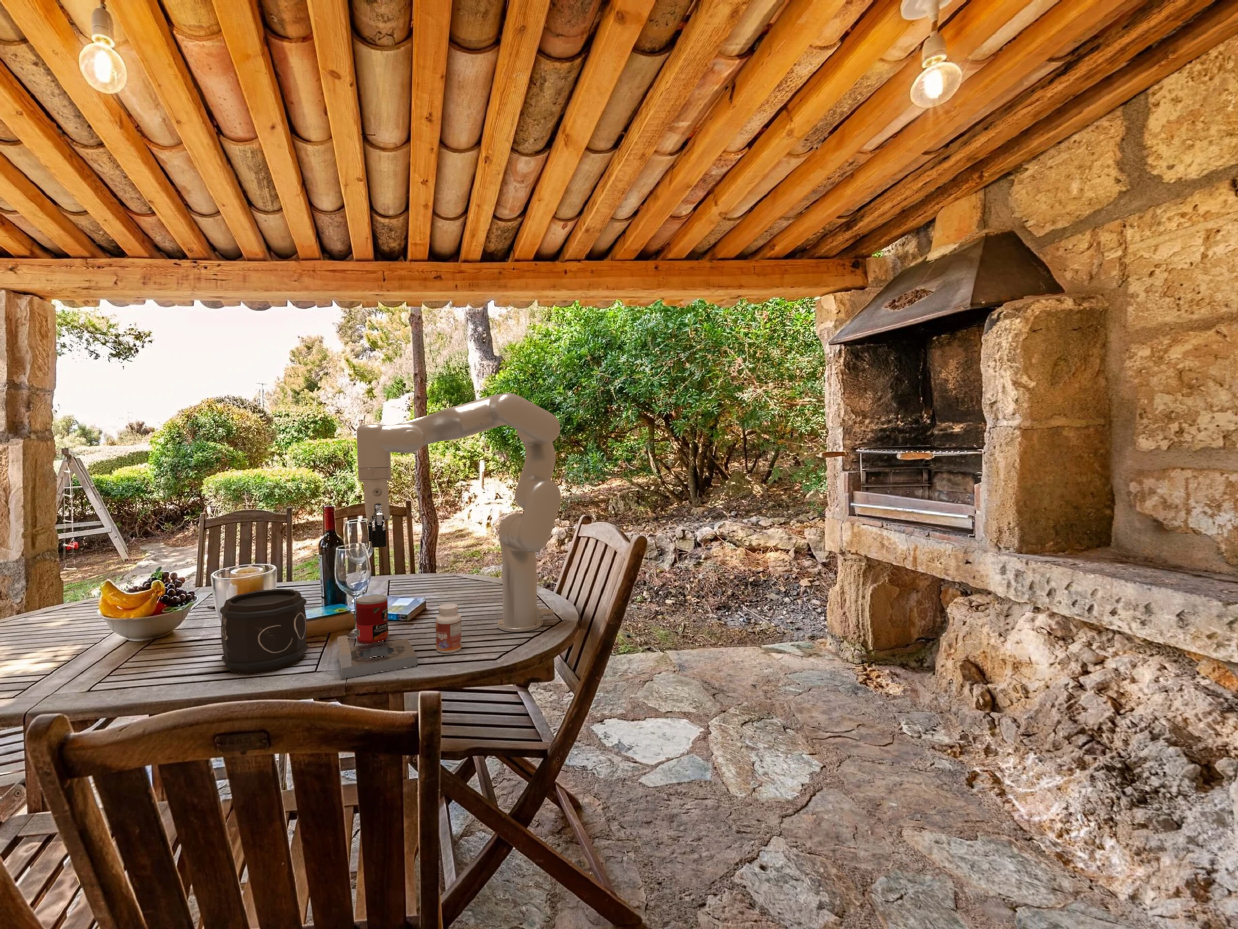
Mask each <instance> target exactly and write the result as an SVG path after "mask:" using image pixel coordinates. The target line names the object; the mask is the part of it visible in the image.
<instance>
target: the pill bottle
mask: <svg viewBox="0 0 1238 929" xmlns="http://www.w3.org/2000/svg"><path fill="white" fill-rule="evenodd" d="M458 612H459V606H458V604H457V603H442V604H440V605H438V613H439V614H438V615H436V618H435V649H436V651H437V652H438V653H441V654H452V653H455V652H458V651H460V650H461V649H462V646H463V644H462V615H461V614H460V613H458Z"/></svg>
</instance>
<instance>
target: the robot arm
mask: <svg viewBox="0 0 1238 929" xmlns="http://www.w3.org/2000/svg"><path fill="white" fill-rule="evenodd" d="M501 426H509V427H511V428H513V429H515V430H516V435H517V437H519V439H520V441H521V442H522V444H523V446H524V447H523V448H524V449H525V457H524V458H525V460H524V464H523V467H522V470H521V474H520V477H519V480H518V483H517V485H516V487H515V488H516V489H515V491H514V501H515V503H516V504H517V506H519V507H520V508H522V509H523V513H519V512H518V513H512V514H509V515H507V516H505V518H504V519H503V520H502V522H501V523H500V525H499V529H498V533H499V535H498V537H499V544H500V550H501V551H500V552H501V563H502V570H501V572H502V618H500V619H499V620H498V621H497V628H498V629H500V630H501V631H504V632H508V633H509V632H512V633H518V632H519V633H520V632H521V633H522V632H523V633H524V632H529V631H533V630H537V629H539V628H541V627H542V626H543V624H544V623H543V622H544V620H543V618H544V617H551V616H552V617H553V616H554V615H555V612H554V609H553V608H547V609H546V607H543V608H539V607H538V590H537V589H538V588H537V586H538V582H537V581H538V580H537V579H538V578H537V576H538V574H537V572H538V571H537V569H538V568H537V567H538V566H537V564H538V563H537V556H536V553H537V552H540V551H541V550H543V549H544V548H545V547H546V545H547V544H548V542H549V540H550V538H551V535H552V531H553V529H554V525H555V523H556V520H557V516H558V513H559V510H560V506H561V501H562V500H561V499H562V497H561V496H562V495H561V490H560V488H559V486H558V485H557V483H556V482H554V481H553V480H552V478H553V473H554V469H555V465H556V457H557V456H556V450H555V447H554V444H553V442H555V440H557V438H558V437H559V435H560V433H561V424H560V422H559V420H558V418H557V417H556V416H555V415H554V414H553V413H551V412H550V411H548V410H546V409H544V408H542V407H540V405H537V404H535V403H533V402H531V401H529V400H527V399H526V398H523V397H522V396H520V395H518V394H515V393H511V392H504V393H499V394H493V395H489V396H486V397H483V398H479V399H476V400H472V401H469V402H466V403H461V404H459V405H455V406H451V407H449V408H448V407H447V408H445V409H442V410H440V411H436V412H434V413H431V414H428V415H424V416H420V417H417V418H416V417H415V418H413V419H410V420H407V421H403V422H400V423H396V424H391V425H389V424H388V425H386V424H385V425H384V424H382V423H381V424H374V423H373V424H371V423H369V424H361V425H359V426H358V427H357V429H356V450H357V451H356V453H357V454H356V455H357V477H358V478H357V480H358V482H363V494H364V495H363V496H364V497H363V498H364V500H363V501H364V508H365V509H364V510H365V517H366V519H367V521H368V525H367V534H368V535H367V539H368V542H371V547H372V548H373V549H375V548H386V547H387V530H386V525H385V521H387V522H389V521H390V520H391V514H390V513H391V512H390V496H389V485H388V481H392V466H391V465H392V462H391V461H392V460H391V457H392V456H391V453H399V454H413V453H416V452H418V451H419V450H420V449H422V448H423V447H424V446H427V445H430V444H435V443H438V442H443V441H444V442H445V441H454V440H459V439H463V438H464V439H465V438H467V437H470V436H473V435H476V434H479V433H482V432H485V431H489V430H491V429H495V428H498V427H501Z"/></svg>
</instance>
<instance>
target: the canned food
mask: <svg viewBox="0 0 1238 929" xmlns="http://www.w3.org/2000/svg"><path fill="white" fill-rule="evenodd" d="M388 599H389V598H388V596H387V595H385V594H366V595H362V596H359V597H357V598H355V622H356V623H355V625H356V639H357V642H359V643H360V642H361V644H374V643H373V642H377V643H379V642H378V641H381V642H383V641H382V640H384V641H386V640H387V639H388V638H389V602H388ZM385 639H386V640H385Z"/></svg>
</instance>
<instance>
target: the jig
mask: <svg viewBox="0 0 1238 929" xmlns="http://www.w3.org/2000/svg"><path fill="white" fill-rule="evenodd" d="M373 656H384V657H377V658H370V657H373ZM337 661H338V665H339V666H340V667H339V671H341V672H340V677H341V680H346V678H348V679H352V677H353V678H357V677H356V676H359V677H362V676H361V675H365V676H367V675H366V674H370V673H375V672H381V671H388V670H394V671H396V670H395V669H399V670H402V669H401V668H404V667H410V666H416V665H417V666H418V655H417V653H416V652H415V649H414V648H413V646H412V644H411V643H410V641H409V638H402V639H401V638H400V639H396V640H395V639H394V640H389V641H381V642H377V643H367V644H363V645H356V646H351V647H350V643H349V640H348V636H347V635H340V636H337ZM388 672H389V671H388Z"/></svg>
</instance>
